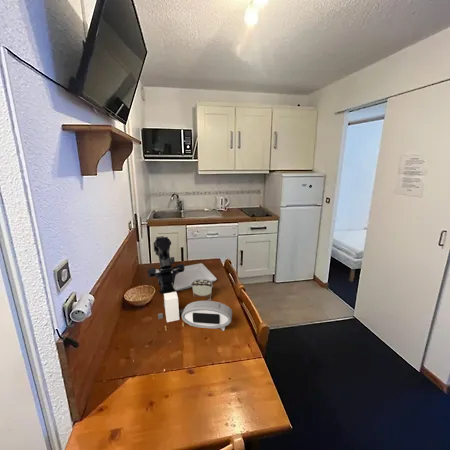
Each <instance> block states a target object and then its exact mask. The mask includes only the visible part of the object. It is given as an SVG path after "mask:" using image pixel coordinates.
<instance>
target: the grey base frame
mask: <svg viewBox="0 0 450 450" xmlns="http://www.w3.org/2000/svg"><path fill="white" fill-rule="evenodd" d="M163 307H164V308H165V302H164V301H163ZM184 309H185V308H181V309H179V314H180V315H181V316H182V313H183V311H184ZM157 319H158V320H160V319H161V320H162V319H164V314H163V313H162V312H161V313H158V314H157ZM184 323H185V322H184V321H182V327H185V324H184ZM164 330H165V331H167V326H166V325H164Z"/></svg>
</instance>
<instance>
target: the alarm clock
mask: <svg viewBox="0 0 450 450" xmlns="http://www.w3.org/2000/svg"><path fill="white" fill-rule="evenodd" d="M183 309H184V311H183V313H182V315H181V319H182V322H184V323H186V324H187V325H189V326H191V327H194V328H203V329H215V330H217V329H220V331H223V332H224V331H225V329H226V327H227V326H229V325H230V324H231V323H232V317H233V310H232V308H231V307H230V306H228V305H226V304H225V303H222V302H219V301H213V300H197V301H192V302H190V303H188V304H187V305H186V306H185V307H184V308H183Z"/></svg>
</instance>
